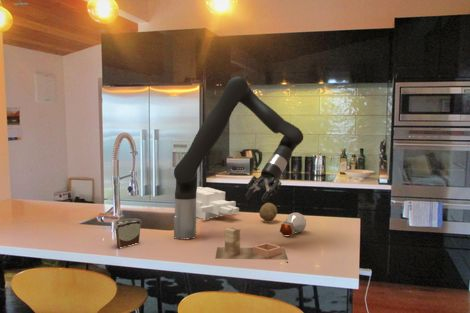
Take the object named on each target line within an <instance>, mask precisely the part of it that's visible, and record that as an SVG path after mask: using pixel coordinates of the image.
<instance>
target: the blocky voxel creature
mask: <svg viewBox="0 0 470 313" xmlns="http://www.w3.org/2000/svg"><path fill="white" fill-rule="evenodd" d="M236 202H237V201H235V200H231V201H228V200H226V191H223V190H219V189H215V188H212V187H209V186H208V187H207V186H206V187H203V186H197V193H196V218H197V219H201V218H204V219H206V218H210V217H216V216H220V215H224V216H225V215H233V214H238V213H239V212H240V207H237V206H236V204H237V203H236ZM216 218H217V217H216Z"/></svg>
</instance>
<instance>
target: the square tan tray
mask: <svg viewBox="0 0 470 313" xmlns="http://www.w3.org/2000/svg"><path fill="white" fill-rule="evenodd" d="M252 248H253V253H254V254H257V255H260V256H264V257H267V258H269V257H273V256H276V255H279V254H282V248H283V246H279V245H276V244H271V243H268V242H264V243H262V244H258V245H254V246H252Z"/></svg>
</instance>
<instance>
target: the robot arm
mask: <svg viewBox="0 0 470 313" xmlns="http://www.w3.org/2000/svg"><path fill="white" fill-rule="evenodd" d="M239 103H240V104H241V105H243V106H245V107H246V108H247V109H249V110H250V111H251V112H252V113H253V114H254V116H256V117H257V119H258V120H260V121H261V123H263V125H264V126H266V127H267V128H268V129H269V130H270V131H271V132H272V133H273V134H276V135H277V134H281V135H283V136H282V138H281V140H280V141H279V144H278V146H277V147H276V148H275V150H274V152H273V153H272V155H271V156H270V158H269V159H268V160H267V161H266V163H265V165H264V167H263V168H262V170H261V172H260V175H259V177H256V175H253V176H252V177H251V179H250V181H249V182H248V183H247V185H246V186H245V187H246V189H248V190H247V192H246V193H245V195H244V197H245V199H246V200H248V201H249V200H250V198H252V196H253V194H254V193H255V192H256V191H259V190H266V191H265V192H264V194H263V195H262V197H261V199H260V200H261V201H262V203H267V202H268V199H269V198H270V196H272V195H276V194H277V193H278V192H279V189H280V187H281V185H282V182H281V180H280V178H281V176H282V175H283V172H284V171H285V169H286V166H287V165H288V163H289V162H290V160H291V159H292V158H291V157H292V155H293V152H294V150H295V149H296V148H297V147H299V145H300V144H302V142H303V141H304V133H303V132H302V130H301V129H300V128H299V127H297V126H296V125H294V124H292V123H290V122H288V121H286V120H285V119H284V118H283V117H282V116H281V115H279V114H278V112H276V111H275V110H274V109H273V108H271V106H269V105H267V104H266V103H265V102H263V101H262V100H261V99H260V98H259V97H258V96H257V95H256V94H255V92H254V91H253V90H252V89H251V87H250V86H249V83H248V82H247V80H246V79H245V78H244V77H243V76H234V77H232V78H230V79H229V80H228V82H227V83H226V86H225V88H224V90H223V92H222V94H221V96H220V98H219V100H218V101H217V103H216V104H215V105H214V107H213V108H211V110H210V113H209V114H208V115H207V117H206V118H205V119H204V121H203V122H202V123H201V126H200V127H199V129H198V131H197V133H196V135H194V136H195V137H194V139H193V140H192V142H191V144H190V147H189V148H188V150H187V152H186V153H185V155H184V156H183V157H181V159H180V161H179V162H178V163H177V164H176V165H175V167H174V170H173V176H174V178H175V190H174V191H175V192H174V216H173V238H174V237H176V238H175V239H177V238H183V239H182V240H187V239H186V238H193V237H195V236H196V237H197V217H196V193H197V187H198V170H199V167H200V166H201V164H202V162H203V160H204V158H206V156H207V155H208V154H209V152H210V151H211V150H212V149H213V147H214V146H215V145H216V144H217V143H218V141H219V140H220V138H221V136H222V135H223V133H224V131H225V130H226V127H227V126H228V124H229V123H228V122H229V120H230V118H231V116H232V113H233V112H234V110H235V108H236V107H237V106H238V104H239ZM196 237H195V238H196ZM184 238H185V239H184ZM193 239H194V238H193Z"/></svg>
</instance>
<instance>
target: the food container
mask: <svg viewBox="0 0 470 313" xmlns="http://www.w3.org/2000/svg"><path fill="white" fill-rule="evenodd" d="M142 224H143V222H142V220H141V218H122V219H118V220H116V221H115V222H114V224H113V228H114V229H115V238H116V246H118V247H119V248H118V247H117V248H118V249H121V248H120V247H124V246H128V245H132V244H135V243H139V244H140V236H141V235H140V234H141V225H142ZM132 246H133V245H132ZM128 247H129V246H128ZM124 248H125V247H124Z"/></svg>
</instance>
